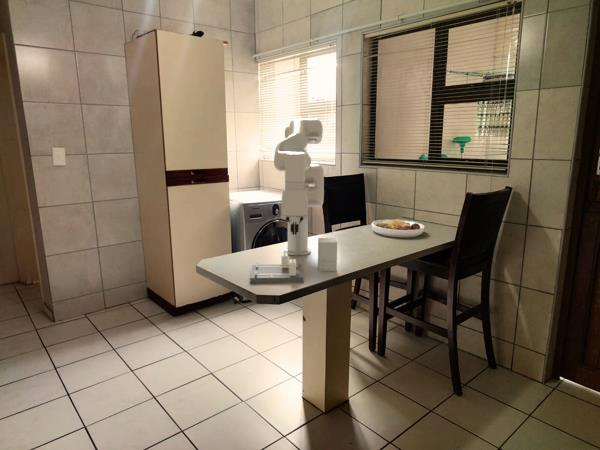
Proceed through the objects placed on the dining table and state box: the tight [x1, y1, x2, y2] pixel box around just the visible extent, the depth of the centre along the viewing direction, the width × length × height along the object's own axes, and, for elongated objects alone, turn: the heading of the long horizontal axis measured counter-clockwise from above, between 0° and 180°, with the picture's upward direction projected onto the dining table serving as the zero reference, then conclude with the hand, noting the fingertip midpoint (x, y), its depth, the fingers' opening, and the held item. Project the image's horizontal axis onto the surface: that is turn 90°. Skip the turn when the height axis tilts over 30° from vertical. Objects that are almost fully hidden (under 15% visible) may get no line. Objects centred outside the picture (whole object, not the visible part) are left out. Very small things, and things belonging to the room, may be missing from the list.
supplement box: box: [317, 237, 338, 272], centre depth 167 cm, size 7×7×13 cm
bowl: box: [371, 218, 425, 238], centre depth 235 cm, size 30×30×8 cm
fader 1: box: [281, 251, 289, 268], centre depth 163 cm, size 5×2×5 cm, turn 4°
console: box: [249, 262, 304, 284], centre depth 159 cm, size 16×20×3 cm
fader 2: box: [288, 258, 297, 276], centre depth 154 cm, size 5×2×5 cm, turn 3°
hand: (294, 233), depth 154 cm, fingers closed
